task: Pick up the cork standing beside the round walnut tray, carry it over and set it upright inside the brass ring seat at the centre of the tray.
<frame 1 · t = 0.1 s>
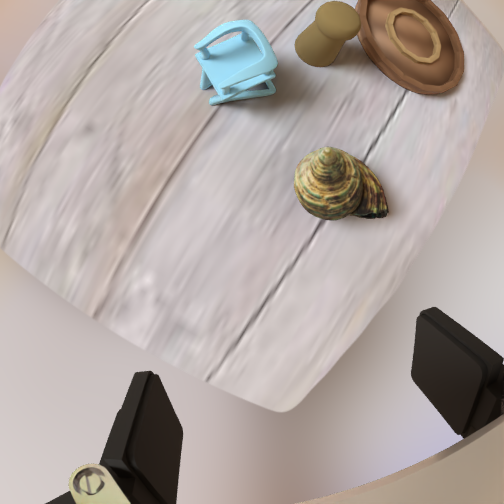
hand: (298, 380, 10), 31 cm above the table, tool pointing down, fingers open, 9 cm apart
chair: (233, 82, 35), on the table
ring tray: (409, 38, 34), on the table
seashell: (328, 188, 40), on the table
cork: (315, 48, 34), on the table
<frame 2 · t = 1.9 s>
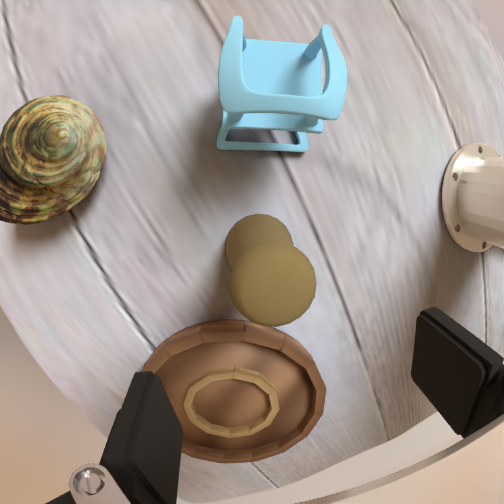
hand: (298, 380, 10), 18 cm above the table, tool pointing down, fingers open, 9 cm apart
chair: (262, 105, 24), on the table
ring tray: (231, 396, 31), on the table
seashell: (67, 162, 24), on the table
cork: (258, 247, 28), on the table
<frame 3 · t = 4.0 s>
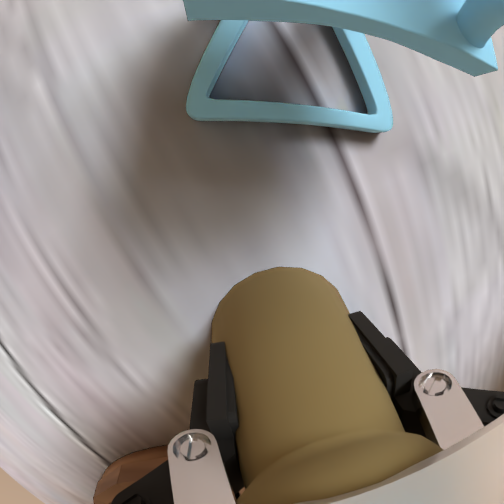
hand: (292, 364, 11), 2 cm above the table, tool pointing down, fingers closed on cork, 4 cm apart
chair: (291, 33, 10), on the table
cork: (280, 331, 13), on the table, touching gripper
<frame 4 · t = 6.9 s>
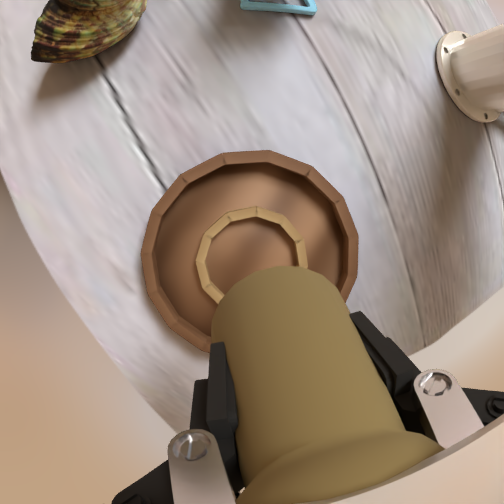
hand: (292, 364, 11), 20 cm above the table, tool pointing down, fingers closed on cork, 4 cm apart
ring tray: (251, 257, 30), on the table
seashell: (103, 26, 22), on the table
cork: (280, 330, 13), point 17 cm above the table, touching gripper
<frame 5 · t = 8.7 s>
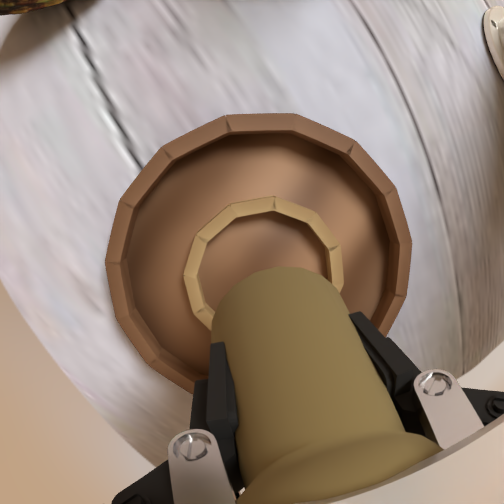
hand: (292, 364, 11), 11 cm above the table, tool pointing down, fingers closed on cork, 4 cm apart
ring tray: (263, 270, 21), on the table
cork: (280, 331, 13), point 8 cm above the table, touching gripper
when the fingers open (5 cm above the table, at t = 10.1 s): cork drops 2 cm, resting on ring tray.
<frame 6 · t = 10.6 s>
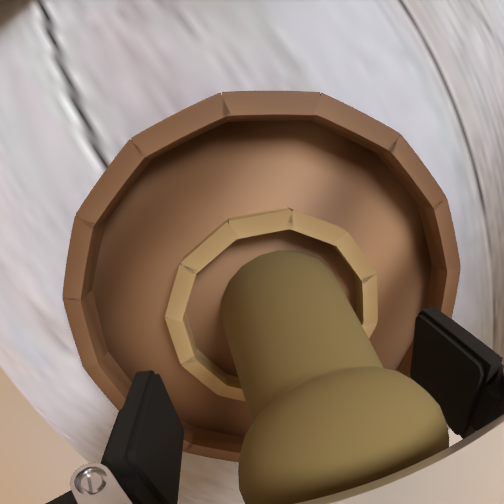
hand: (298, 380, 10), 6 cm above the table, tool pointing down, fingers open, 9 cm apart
ring tray: (272, 305, 16), on the table
cork: (282, 308, 15), point 1 cm above the table, touching ring tray
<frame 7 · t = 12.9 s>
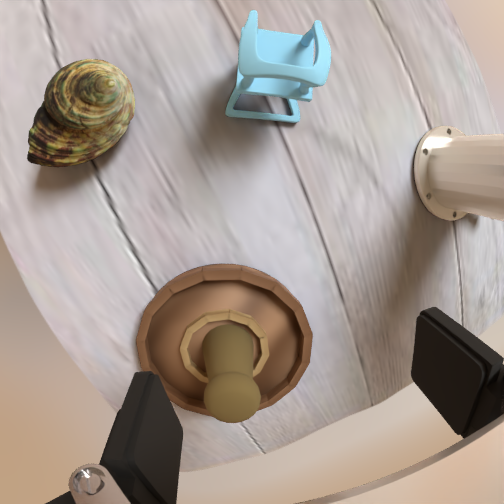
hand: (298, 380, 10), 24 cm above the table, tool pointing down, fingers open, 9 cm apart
chair: (264, 84, 29), on the table
ring tray: (224, 343, 36), on the table
seashell: (94, 120, 28), on the table
cork: (227, 345, 35), point 1 cm above the table, touching ring tray
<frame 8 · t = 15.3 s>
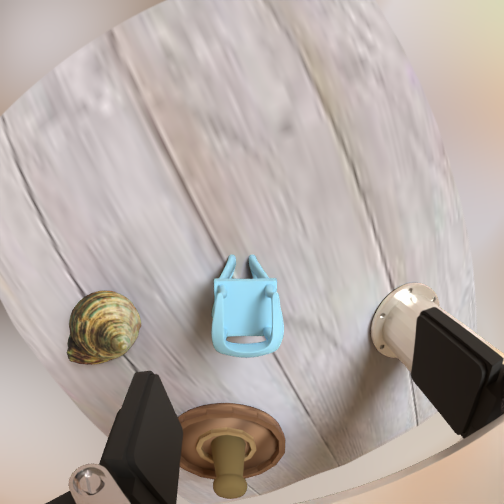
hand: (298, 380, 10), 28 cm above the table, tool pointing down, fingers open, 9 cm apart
chair: (241, 285, 39), on the table
ring tray: (225, 441, 46), on the table
seashell: (109, 313, 38), on the table
cork: (228, 444, 45), point 1 cm above the table, touching ring tray
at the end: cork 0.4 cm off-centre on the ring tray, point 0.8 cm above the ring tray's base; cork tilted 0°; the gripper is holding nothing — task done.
